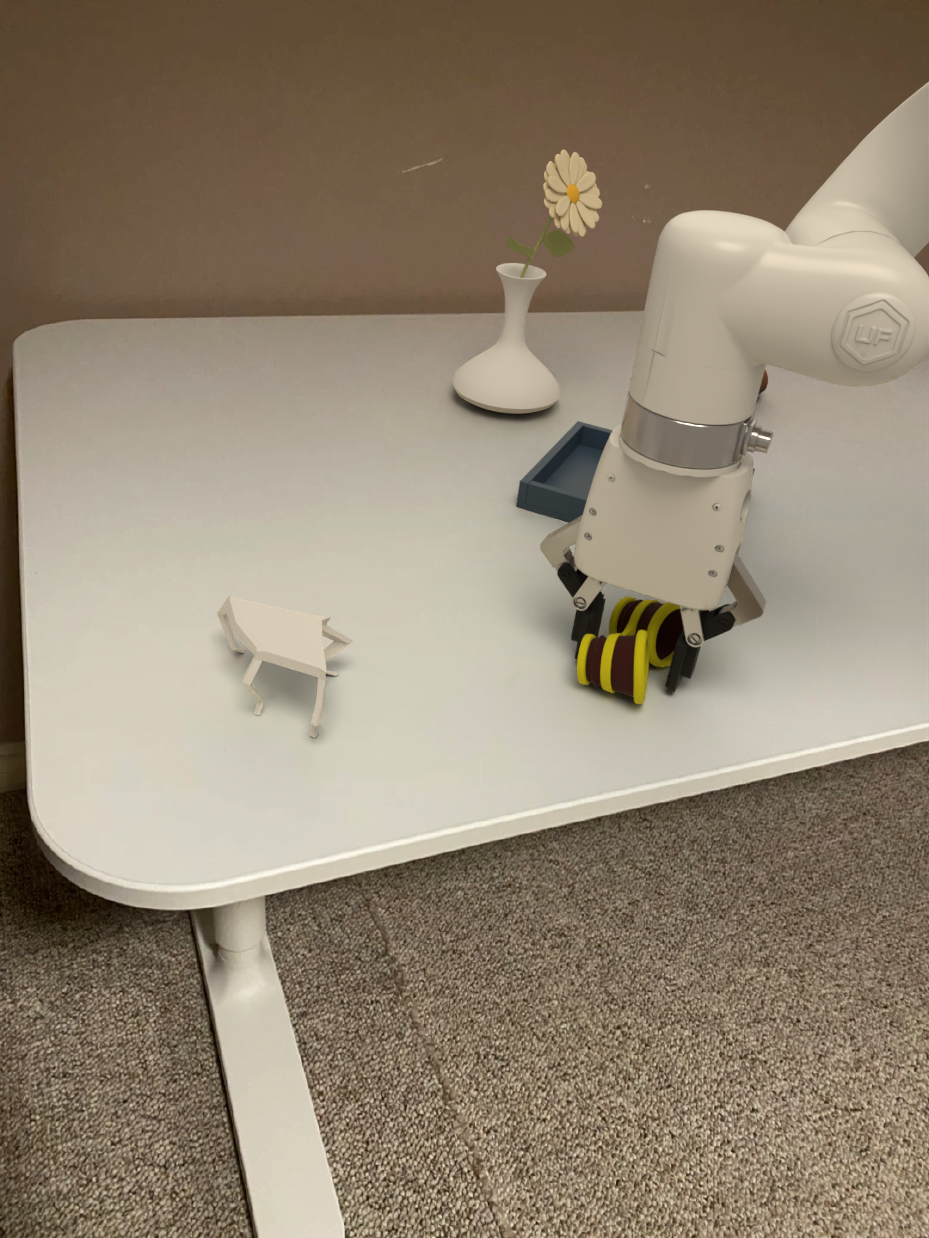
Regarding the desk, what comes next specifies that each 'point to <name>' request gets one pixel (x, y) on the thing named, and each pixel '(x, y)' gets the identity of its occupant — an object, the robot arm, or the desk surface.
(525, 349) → the flower in vase
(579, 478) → the tray
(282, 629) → the origami figure
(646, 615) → the opera glasses
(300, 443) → the desk surface
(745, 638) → the desk surface
